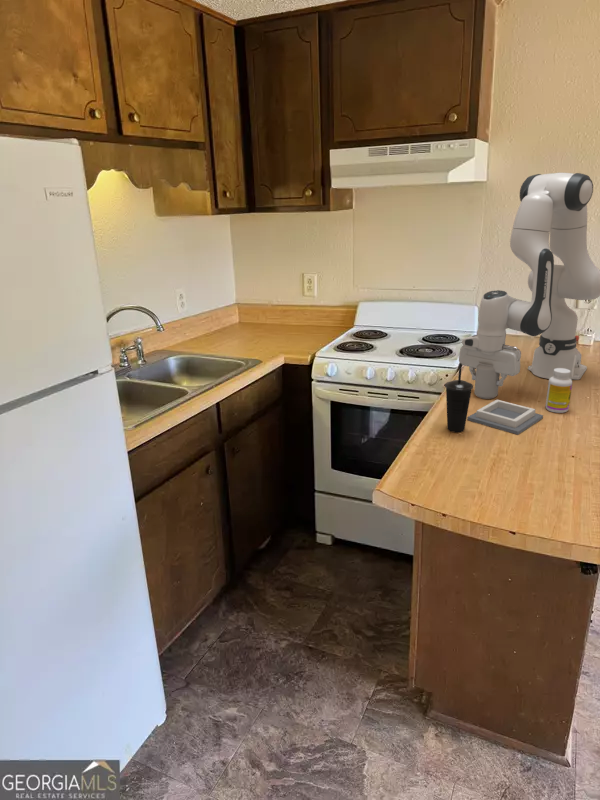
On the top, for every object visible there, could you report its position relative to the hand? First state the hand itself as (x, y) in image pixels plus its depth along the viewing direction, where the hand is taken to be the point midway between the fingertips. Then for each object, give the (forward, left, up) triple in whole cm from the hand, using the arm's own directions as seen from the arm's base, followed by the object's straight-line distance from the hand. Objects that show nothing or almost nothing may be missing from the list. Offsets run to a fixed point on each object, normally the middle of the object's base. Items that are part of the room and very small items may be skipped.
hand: (487, 382), depth 189 cm
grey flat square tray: (+14, +14, -5) cm, 20 cm away
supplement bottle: (-4, +22, -5) cm, 23 cm away
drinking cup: (+30, +7, -5) cm, 31 cm away
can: (0, 0, -5) cm, 5 cm away
